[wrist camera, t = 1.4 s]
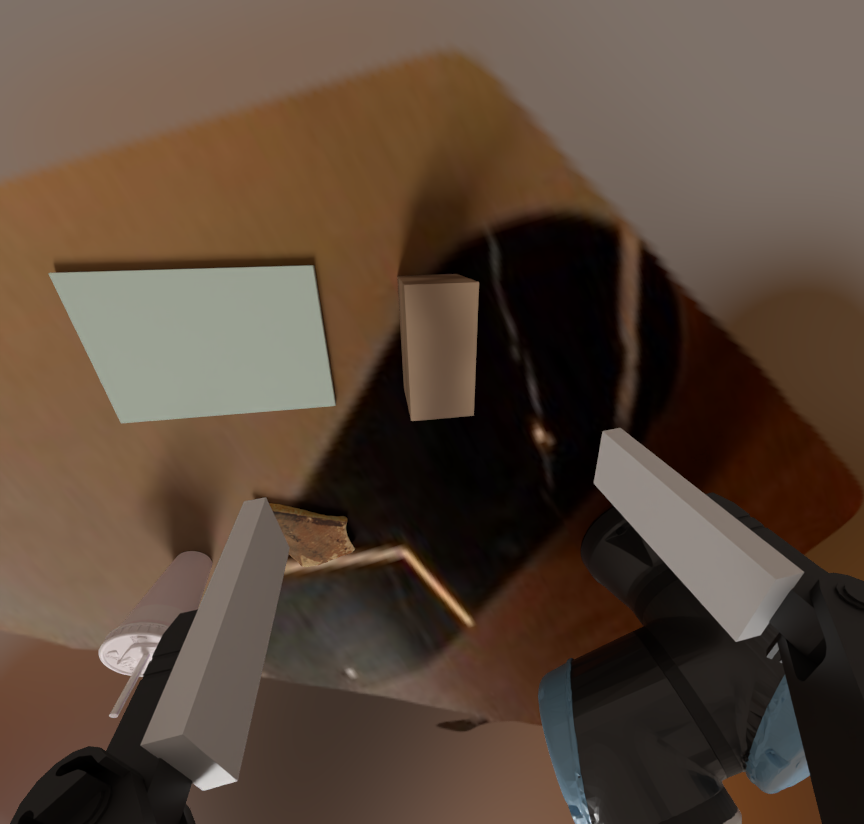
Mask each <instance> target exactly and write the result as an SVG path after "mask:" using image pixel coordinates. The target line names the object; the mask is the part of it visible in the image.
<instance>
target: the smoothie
mask: <svg viewBox="0 0 864 824" xmlns="http://www.w3.org/2000/svg"><path fill="white" fill-rule="evenodd" d="M211 567H212V561H211V559H210V558H209V557H208V556H207V555H206V554H204V553H201V552H197V551H186V552H183V553H181V554H179V555H178V556H177V557H176V558H175V559H174V561H173V562H172V563H171V564H170V565H169V567H168V568H167V569H166V570H165V572H164V573H163V574H162V575H161V576H160V578H159V579H158V580H157V581H156V582H155V584H154V585H153V586H152V587H151V589H150V590H149V591H148V592H147V593H146V595H145V596H144V597H143V598H142V600H141V601H140V602H139V603H138V604H137V606H136V607H135V608H134V609H133V610H132V612H131V613H130V614H129V615H128V616H127V618H126V619H125V620H124V621H123V623H122V624H121V625H120V626H119V627H117V628H116V629H114V630H112V631H111V632H110V633H109V634H108V635H107V636H106V639H105V641H104V642H103V644H102V645H101V647H100V649H99V657H100V660H101V661H102V663H103V664H104V665H105V666H107V667H108V668H109V669H111V670H113V671H115V672H118V673H121V674H125V675H129V676H131V677H130V679H129V681H128V683H127V685H126V687H125V688H124V690H123V692H122V693H121V695H120V697H119V699H118V701H117V702H116V704H115V706H114V708H113V710H112V711H111V713H110V715H109V716H110V717H112V718H116V717H118V715H119V713H120V711H121V709H122V708H123V706H124V703H125V702H126V700H127V698H128V696H129V694H130V692H131V691H132V689H133V687H134V685H135V683H136V681H137V680H138V678H139V677H143V674H144V672H145V670H146V668H147V666H148V664H149V662H150V661H152V656H153V654H154V651H155V649H156V647H157V645H158V643H159V641H160V639H161V637H162V635H163V633H164V632H165V631H166V630H167V629H168V627H169V626H170V625H171V624H172V622H173V621H174V620H175V619H176V618H177V616H178V615H179V614H180V613H184V612H188V611H193V610H197V609H198V606H199V603H200V600H201V597H202V594H203V591H204V588H205V585H206V582H207V579H208V576H209V573H210V570H211Z"/></svg>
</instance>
